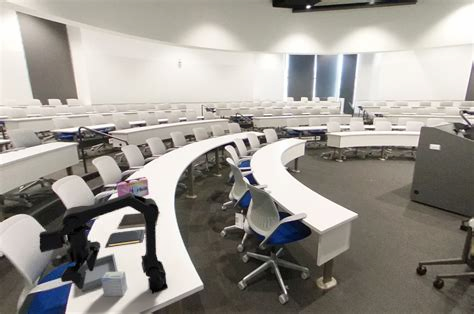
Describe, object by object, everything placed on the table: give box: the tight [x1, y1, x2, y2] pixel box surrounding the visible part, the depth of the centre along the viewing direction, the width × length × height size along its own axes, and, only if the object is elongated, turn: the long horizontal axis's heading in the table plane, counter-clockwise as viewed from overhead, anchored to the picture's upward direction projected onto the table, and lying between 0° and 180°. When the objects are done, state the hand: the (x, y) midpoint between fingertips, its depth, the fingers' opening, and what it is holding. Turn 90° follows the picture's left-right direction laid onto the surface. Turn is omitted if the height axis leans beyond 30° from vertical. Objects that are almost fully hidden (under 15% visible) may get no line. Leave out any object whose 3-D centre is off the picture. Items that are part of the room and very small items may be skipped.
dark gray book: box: [104, 228, 145, 249], centre depth 143 cm, size 20×2×15 cm
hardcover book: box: [118, 211, 160, 229], centre depth 163 cm, size 16×23×2 cm
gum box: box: [115, 176, 150, 197], centre depth 202 cm, size 24×8×14 cm, turn 126°
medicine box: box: [101, 270, 128, 297], centre depth 102 cm, size 8×4×9 cm, turn 92°
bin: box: [81, 253, 119, 292], centre depth 113 cm, size 14×16×4 cm
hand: (86, 279), depth 91 cm, fingers open, 9 cm apart
